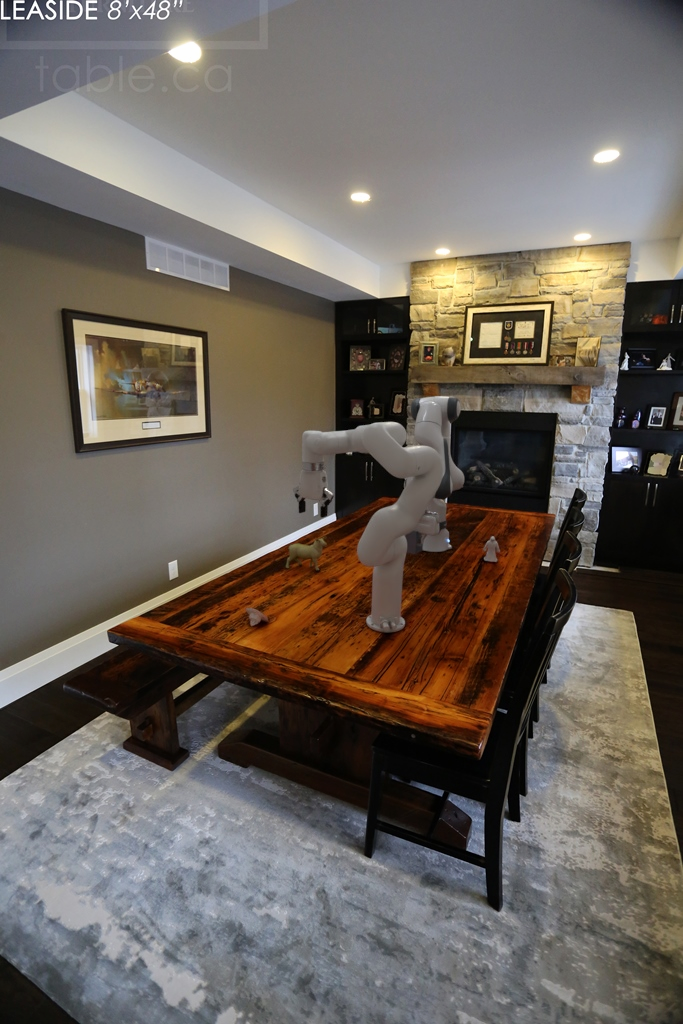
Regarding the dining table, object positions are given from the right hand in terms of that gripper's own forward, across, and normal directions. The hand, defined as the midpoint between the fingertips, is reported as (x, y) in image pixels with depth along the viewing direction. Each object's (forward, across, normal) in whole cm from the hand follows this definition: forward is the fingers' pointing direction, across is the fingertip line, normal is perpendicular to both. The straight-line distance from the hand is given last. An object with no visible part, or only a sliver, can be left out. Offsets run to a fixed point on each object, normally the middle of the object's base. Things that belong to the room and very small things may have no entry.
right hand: (414, 541), depth 203 cm
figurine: (+14, -20, -38) cm, 45 cm away
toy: (+14, +38, +22) cm, 46 cm away
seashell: (+14, +20, +70) cm, 74 cm away
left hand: (-16, +20, +41) cm, 49 cm away
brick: (+4, 0, 0) cm, 4 cm away
